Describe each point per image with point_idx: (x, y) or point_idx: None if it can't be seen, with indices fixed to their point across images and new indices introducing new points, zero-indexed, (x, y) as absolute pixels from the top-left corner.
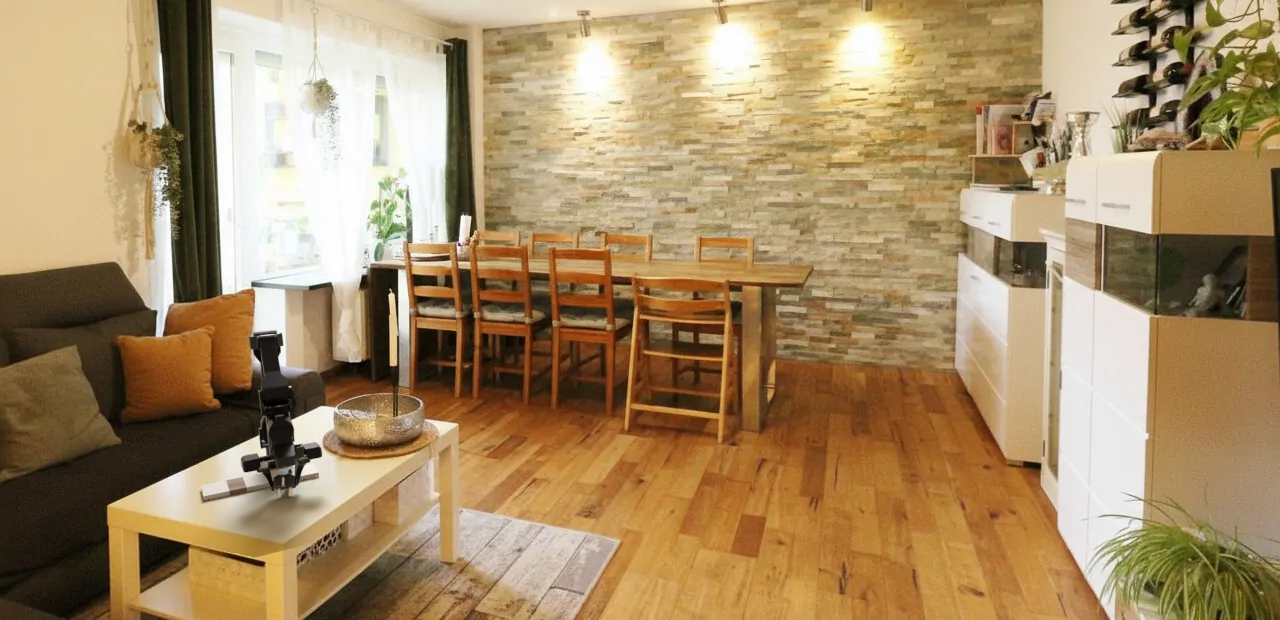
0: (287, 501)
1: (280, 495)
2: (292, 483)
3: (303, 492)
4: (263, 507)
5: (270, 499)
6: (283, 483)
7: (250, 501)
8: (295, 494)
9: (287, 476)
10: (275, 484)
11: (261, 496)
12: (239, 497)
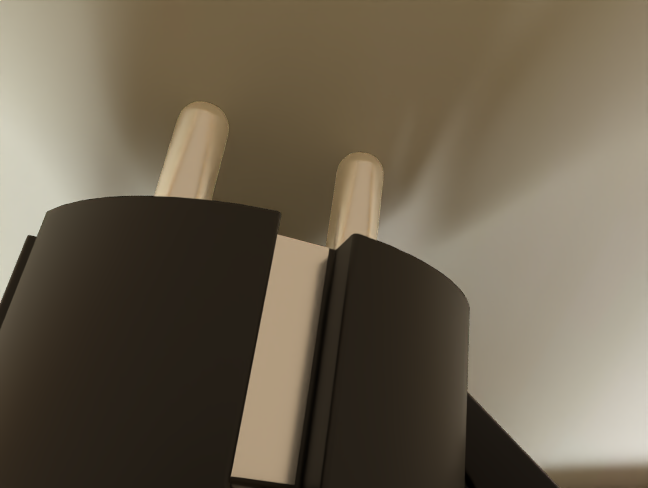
0: (267, 15)
1: (346, 181)
2: (67, 228)
3: (17, 225)
4: (637, 4)
5: (445, 239)
6: (289, 283)
7: (629, 304)
8: None
9: (128, 451)
10: (459, 330)
11: (487, 363)
12: (639, 430)
